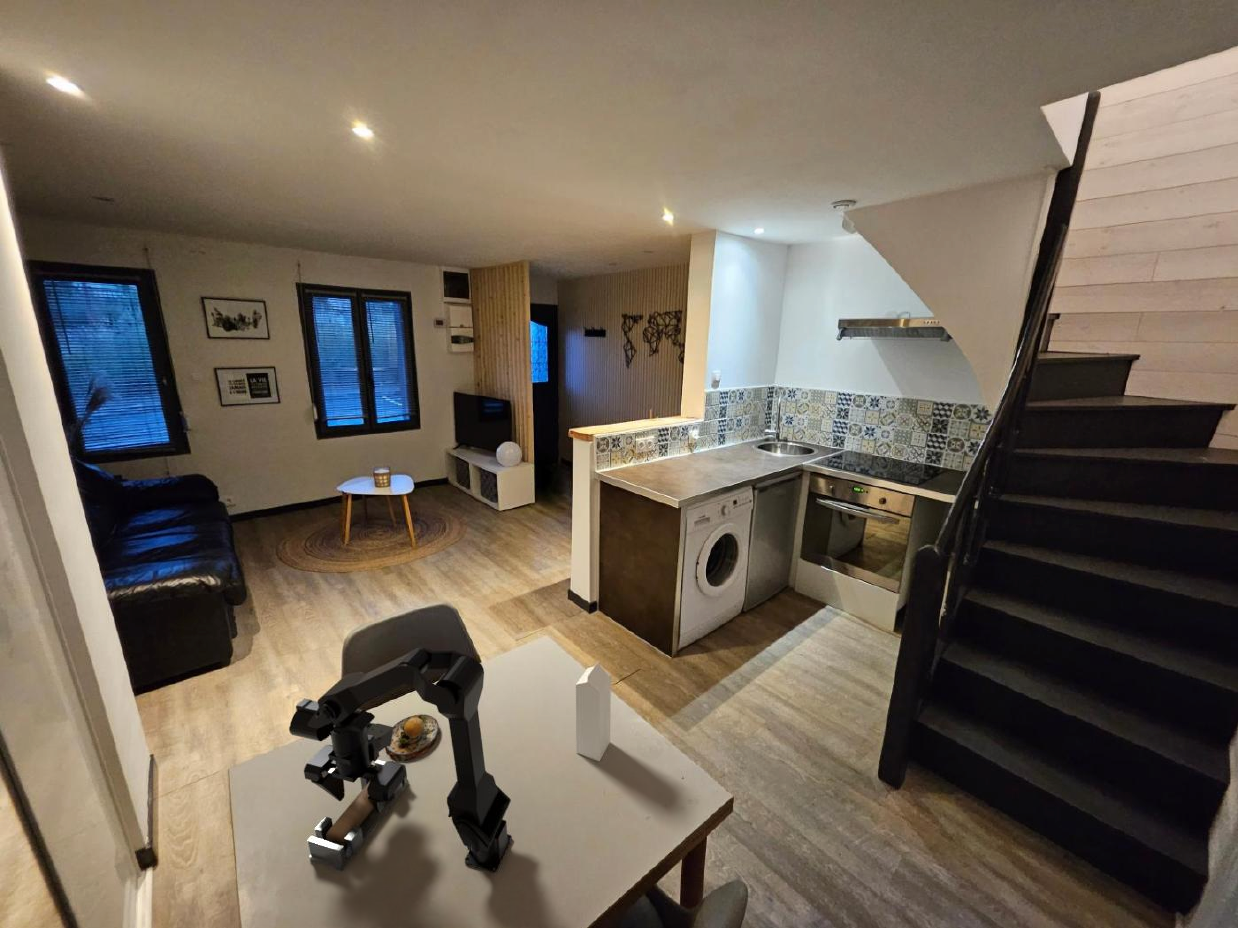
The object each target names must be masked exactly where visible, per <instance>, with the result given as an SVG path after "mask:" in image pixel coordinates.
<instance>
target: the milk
mask: <svg viewBox="0 0 1238 928" xmlns="http://www.w3.org/2000/svg"><path fill="white" fill-rule="evenodd" d="M611 694H612V675H611V674H610V673H609V672H608V671H607V670H605V668H603V667H602V666H601V664H600V660H598V661H597V662H596V664H594V666H591V667H587V668H586V670H585V671H584V673H583V674H582V676H581V677H580V678H579V680H578V681H577V682H576V684H575V728H576V729H575V730H576V731H575V733H576V734H575V742H576V745H575V746H576V747H575V748H576V751H575V752H576V753H577V754H579V755H582V756H584V757H587V758H589V759H591V760H594V761H597V762H601V759H602V758H603V755H604V754H605V752H606V750H607V748H608V746H609V745H610V743H611V711H612V710H611V703H612V702H611V701H612V700H611V699H612V698H611V697H612V695H611Z"/></svg>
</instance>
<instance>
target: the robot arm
mask: <svg viewBox="0 0 1238 928" xmlns="http://www.w3.org/2000/svg"><path fill="white" fill-rule="evenodd" d="M426 670H446V671H445V672H444V673H443V675H441V677H440V678H439V679H438V681H436V683H432V682H430V681H428V680H427V678H425V676H424V672H425V671H426ZM484 680H485V669H484V667H483V665H482V663H481V662H479V660H477V659H475V658H474V657H471V656H469V655H466V654H463V653H460V652H458V651H455V650H430V649H427V648H425V647H420V646H419V647H417V648H413V649H412V650H410V652H409V653H406V654H404V655H403V656H400V657H397V658H395V659H394V660H392V661H390V662H387V663H386V664H383V665H380V666H379V667H377V668H374V669H373V670H371V671H368V672H362V671H356V672H352V673H347V674H345V675H344V676H342V677H341V678H340V679H339V680H338V681H337V682H336V683H335V684H334V685H333V686H332V687H330V689H328V690H327V691H326V692H325V693H324V694H323V695H322V696H320V697H319V698H318V700H317V701H314V700H312V699H311V698H310V699H309V698H303V699H302V700H301V701H300V702H299V703H298V704H297V705H296V706H295V708H296V711H295V713H294V714H293V716H292V718H291V720H290V725H289V727H288V730H289V733H290V735H292V736H295V737H299V738H304V739H308V740H313V741H318V742H323V741H324V740H326V739H328V738H329V737H330V739H331V744H325V745H324V746H323V747H322V748H320V750H318V752H317V753H316V754H315V755H314V756H313V757H311V758H310V759H309V761H307V763H306V764H305V766H304V768H303V774H304V778H305V780H309V781H310V782H311V783H312V784H315V786H318V787H319V788H320V789H322V790H324V791H325V792H326V793H327V794H329V795H330V796H331V797H333V798H334V799H335V800H337V801H338V802H341V801H343V799H344V798H345V795H346V794H345V791H346V790H345V781H346V782H349V783H355V782H356V781H357V780H358V779H359V778H360V777H361V778H364V779H368V780H371V781H370V783H369V785H368V788H367V792H368V795H369V797H368V800H369V801H370V803H371V804H372V805H373V807H374V808H375V810H376V811H377V812H378V813H381V812H382V810H383V809H384V806H385V803H386V800H389V798H390V797H391V796H392V794H393V793H394V792H395V790H396V789H397V788H398V787H399V785H400V784H401V783H402V781H403V780H404V779H405V777H406V776H407V777H408V774H407V766H406V764H403V763H401V762H400V763H399V762H395V761H392V760H388V761H387V760H386V761H385V762H386V763H385V764H384V765H383V766H382V767H379V766H376V765H375V764H372V763H373V762H376V761H377V760H379V757H380V752H381V751H382V750H384V749H385V747H387V746H390V745H391V741H392V733H393V726H391V725H388V724H387V725H386V724H382V723H374V722H372V721H373V720H374V719H375V718H376V716H375V715H374V714H373V713H372V712H370V711H366V710H365V709H360V707H361V706H363V705H364V704H365V703H366V702H369V701H371V700H373V699H375V698H377V697H380V696H382V695H384V694H387V693H389V692H392V691H393V690H395V689H397V688H399V687H402V686H404V685H408V686H409V687H412V688H414V690H415V691H416V693H417V694H418V696H419V697H420V698H421V700H422V701H423V702H426V703H429V704H431V705H434V706H436V708H437V712H438V713H439V714H440V715H441V716H443V717H445V718H446V719H448V720H447V721H448V724H449V725H448V726H449V733H450V739H451V746H452V753H453V760H454V761H453V762H454V767H455V775H456V781H455V784H454V785H453V787H452V789H451V790H450V792H449V793H448V795H447V797H446V804H447V807H448V808H447V809H448V814H447V816H448V818H451V822H452V824H453V825H454V828H455V830H456V832H457V834H458V836H459V838H460V840H461V842H462V844H463V846H465V847H466V849H467V851H468V853H467V854H466V856H465V858H464V864H465V865H468V866H471V867H475V868H479V869H482V870H484V871H487V872H491V873H497V872H498V870H499V868H500V867H501V866H500V865H502V861H503V860H504V858H505V855H506V853H507V851H508V848H509V847H510V845H511V842H512V841H513V836H512V835H511V834H508V829H507V820H505V819H504V816H505V815H506V812H507V810H508V808H509V805H510V803H511V801H512V799H511V798H510V797H509V796H508V795H507V794H506V793H505V792H504V791H503V790H502V789H501V788H500V786H498V785H497V783H496V781H495V777H494V775H493V774H491V773H489V772H488V771H486V765H485V758H484V756H485V755H484V747H483V739H482V732H481V724H480V723H481V722H480V715H479V703H480V700H481V697H482V692H483V689H484Z"/></svg>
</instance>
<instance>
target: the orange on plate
mask: <svg viewBox="0 0 1238 928" xmlns="http://www.w3.org/2000/svg"><path fill="white" fill-rule="evenodd" d="M392 727H393V733H392V741H391V745H390V746H387V747H385V748H384V749H385V753H387V754H386V755H388V756H389V757H390V758H391V757H393V758H394V759H395V760H397V761H405V760H406V759H407V760H409V759H411V758H413V759H416V758H418V757H421V756H422V755H423V754H424V753H427V752H429V751H430V750H431V749H433V747H434V746H435V745H436V744H437V741H438V740H439V737H440V733H441V731H440V725H439V722H438V720H437V719H436V718H435V717H433V716H431V715H428V714H421V713H420V714H414V715H410V716H408V717H405V718H403V719H402V720H400V721H399V722H397V723H395V724H394V725H393V726H392Z"/></svg>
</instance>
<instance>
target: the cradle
mask: <svg viewBox="0 0 1238 928" xmlns="http://www.w3.org/2000/svg"><path fill="white" fill-rule="evenodd" d="M386 762H387V761H385V760H381V759H377V760H376V761H374V765H376V766H379V767H382V766H383V765H384V764H385V763H386ZM359 780H360V785H361V791H362V790H363V789H364V788H365V786H366V785H367V784H368V783H369V782H370V780H368V779H364V778H361V777H360V779H359ZM408 784H409V778H408V775H407V776H406V777H405V779H404V780H403V781H402V783H401V784H400V785H399V787H398V788H397V789H396V790H395V792H394V793H393V794H392V796H391V797H390V798H389V800H386V803H385V806H384V809H383V810H382V812H381V813H378V812H377V811H376V810H375V808H373V809H372V811H371V812H370V813H369V815H368V816H367V817H366V818H365V820H364V821H363V822H362V823H361V825H360V826H359V827H358V826H354V827H353V828H352V830H351V831H350V832H349V833H348V835H347V836H346V837H345V845H344V846H340V845H337V844H334V843H331V842H328V840H327V838H326V833H327V832H328V831H329V829H330V828H331V827H332V826H333V825H334V823H333V818H332V817H328V816H324V818H322V820H321V821H320V822H319V823H318V824H317V826H316V827H315V828H314V831H315V836H316V837H315V836H313V835H311V836H310V837H309V838H308V839H307V844H308V848H309V853H310V855H309V861H311V862H313V863H316V864H319V865H323V866H324V867H325V866H326V867H327V868H328V867H329V868H331V869H334V870H336V871H339V872H343V871H344V869H345V868H346V867H347V866H348V864H349V863H350V862H351V860H352V858H353V857H354V856H355V855H356V853H358V851H359V850H360V848H361V847H362V845H363V844H364V843H365V841H366V840H367V839H368V837H369V836H370V834H371V833H372V832H373V831H374V830H375V828H377V826H378V825H379V823H380V822H381V820H382V819H383V818H384V817H385V815H386V813H387V812H388V811H389V810H390V809H391V807H392V806H393V804H394V803H395V801H396V800H397V799H398V798H399V796H400V795H401V793H402V792H403V790H405V788H406V787H407V785H408Z"/></svg>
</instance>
